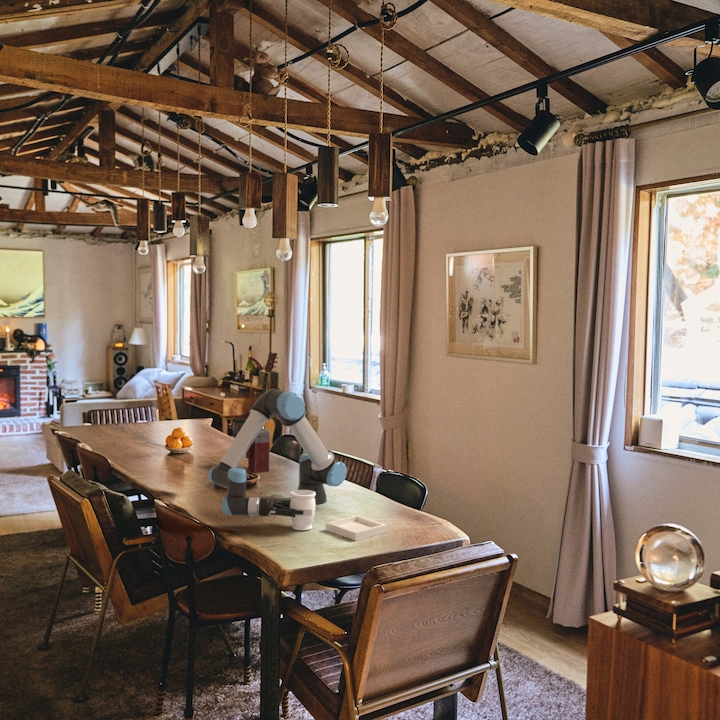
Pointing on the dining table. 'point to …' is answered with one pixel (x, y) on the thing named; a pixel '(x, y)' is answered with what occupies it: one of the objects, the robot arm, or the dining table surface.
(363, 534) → the white square tray
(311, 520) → the jar
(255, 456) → the toy vending machine
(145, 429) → the dining table surface
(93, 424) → the dining table surface
